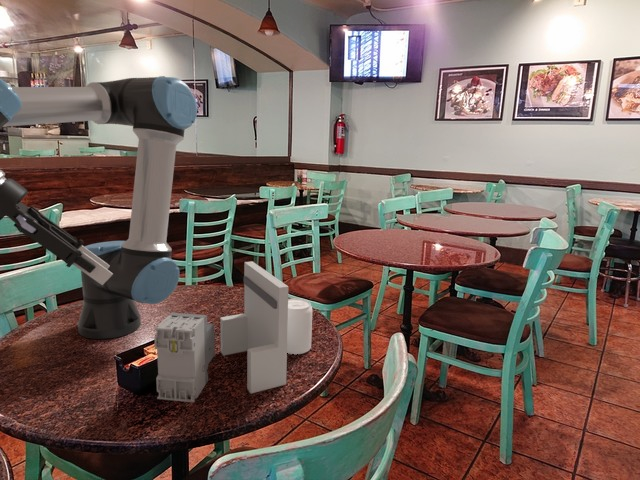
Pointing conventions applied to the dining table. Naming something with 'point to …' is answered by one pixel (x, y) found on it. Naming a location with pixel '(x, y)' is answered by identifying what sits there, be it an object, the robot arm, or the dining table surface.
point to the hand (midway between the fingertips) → (105, 274)
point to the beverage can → (299, 326)
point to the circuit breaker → (183, 355)
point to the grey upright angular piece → (260, 329)
